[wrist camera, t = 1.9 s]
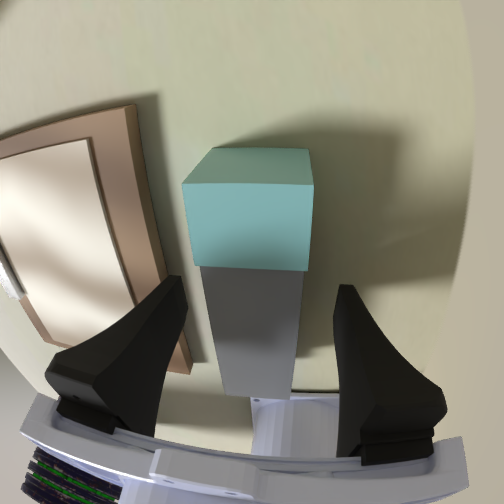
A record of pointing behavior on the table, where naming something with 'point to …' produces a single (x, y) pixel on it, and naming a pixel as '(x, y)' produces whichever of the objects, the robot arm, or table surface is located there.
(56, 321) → the clipboard
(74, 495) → the dark blue cylinder
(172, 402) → the table surface
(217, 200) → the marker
